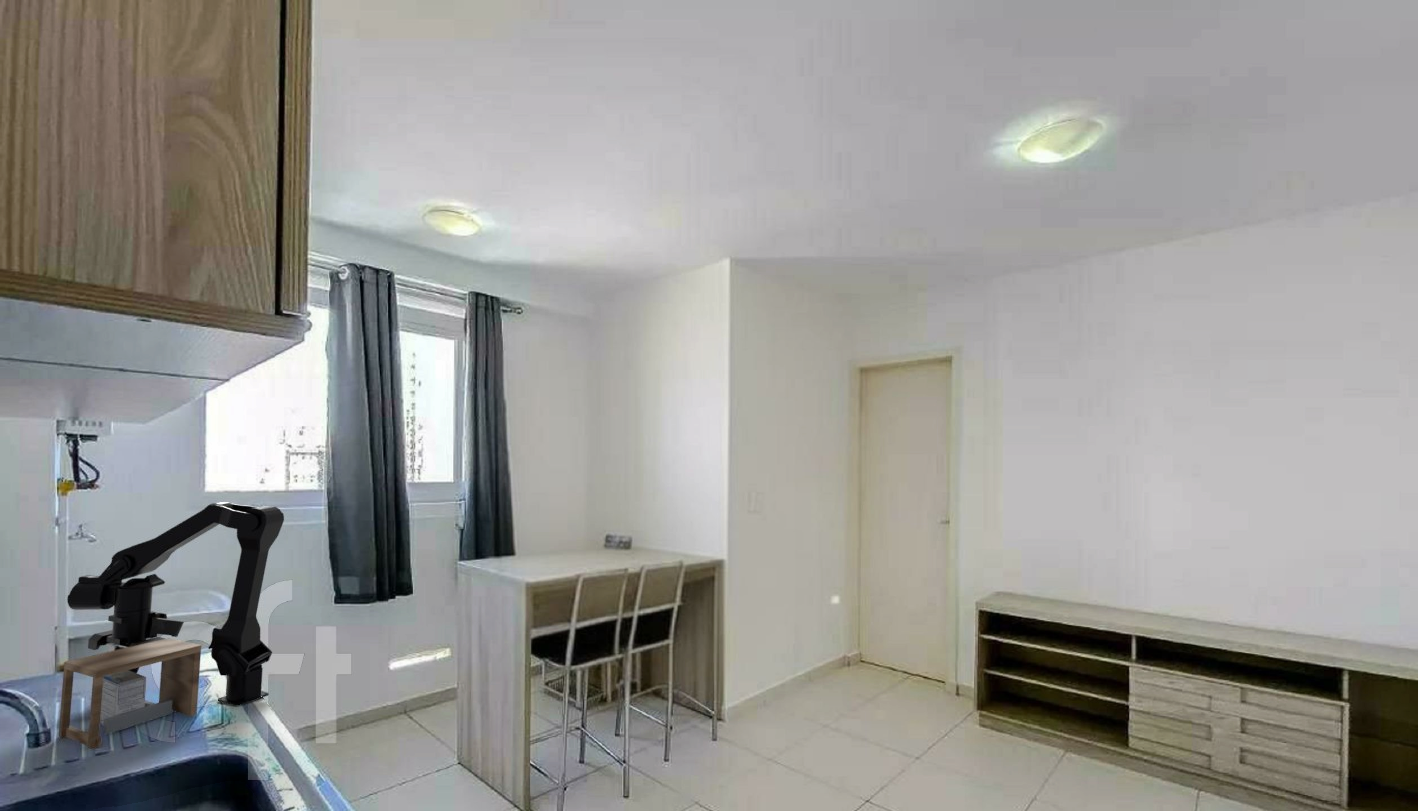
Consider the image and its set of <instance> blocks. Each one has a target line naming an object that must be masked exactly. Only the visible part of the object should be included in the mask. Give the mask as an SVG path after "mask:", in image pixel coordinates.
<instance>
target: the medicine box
mask: <svg viewBox="0 0 1418 811" xmlns="http://www.w3.org/2000/svg"><path fill="white" fill-rule="evenodd" d="M146 691H147V677H146V676H145V675H142V674H140V673H138V672H137V673H134V672H131V671H129V670H126V671H122V672H118V673H114V674H111V675H107V676H103V689H102V702H101V715H100V725H101V724H102V726H104V719H106V718H110V717H113V716H116V715H119V714H123V713H126V712H129V711H133V710H136V709H139V708H143V707H145V700H146Z"/></svg>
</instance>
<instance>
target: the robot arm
mask: <svg viewBox="0 0 1418 811" xmlns="http://www.w3.org/2000/svg"><path fill="white" fill-rule="evenodd" d="M284 520H285V516H284V513H283V512H282V510H281V509H280V508H278V507H277V506H274V505H265V506H254V505H253V506H252V505H245V504H236V503H232V502H228V501H222V502H214V503H210V504H208V505H207V506H205V507H204V508H203V509H202V510H200V511H199V512H197V513H195V514H193V515H191V516H190V517H188V518H187V519H185V520H183V521H181V522H179V523H177V524H175V525H174V526H173V527H171V528H169V529H168V530H166V531H165V532H163V533H161V534H159V535H158V536H155V537H154V538H151V539H149V540H146V541H144V542H141V543H140V542H139V543H137V544H134V545H132V546H128V547H127V548H124V549H121V550H119V551H117V552H116V553H114V554H113V555H112V557H111V562H110V564H109V565H108V566H107V567H106V568H105V569H104V570H103V572H102V573H101V574H99V575H95V574H87V575H81V576H79V577H78V581H77V583H76V584H75V585H74V586H73V587H72V588H71V590H70V592H69V594H68V595H67V605H68V607H69V608H70V609H71V610H74V611H81V610H82V611H83V610H84V611H86V610H87V611H88V610H91V611H93V610H98V611H99V610H110V609H111V608H113V614H111V615H108V617H107V618H108V619H107V620H108V622H111V623H112V630H111V629H110V630H107V631H101V632H96V633H93V634H92V635H91V637H90V638H88V642H87V643H88V644H87V649H89V650H92V651H96V650H99V648H100V647H102V646H106V647H107V648H108V649H107V652H110V651H114V650H119V649H123V648H128V647H132V646H136V645H141V644H145V643H150V642H154V641H158V640H163V639H166V637H165V638H164V637H159V636H158V635H161V636H162V635H164V636H165V635H166V636H171V637H175V638H177V637H178V636H179V634H180V633H181V632H180V631H181V629H182V627H183V625H184V621H182V620H177V619H172V618H168V617H167V616H168V614H167V613H162V612H157V611H152V600H153V588H155V587H158V586H163V585H165V583H166V581H165V580H164V579H162V578H161V577H159V576H158V575H157V574H156V573H151V572H154V571H156V570H157V569H158V568H159V567H161V566H162V565H163V564H164V563H165V562H167V561H168V559H170V557H171V555H172V554H173V553H175V552H176V551H177V550H178V549H179V550H180V548H182V547H184V546H185V545H187V544H188V543H190V542H193V541H194V540H195V539H197V538H199V537H200V536H202V535H204V534H206V533H207V532H209V531H210V530H212V529H215V527H217V526H219V525H220V526H223V527H225V528H229V529H234V530H236V538H237V541H238V544H239V546H240V555H239V562H238V566H237V571H236V576H235V581H234V584H233V591H232V596H231V602H230V606H229V611H228V615H227V619H226V621H225V622H224V623H223V624H221V625H219V626H216V627H214V628H213V630H212V631H211V632H212V633H211V641H210V645H208V647H207V648H208V650H210V649H211V650H210V656H211V659H212V660H214V661H215V662H216V666H217V669H218V672H219V675H220V676H226V684H225V685H226V687H225V695H224V696H222V697H219V698H217V702H220V703H222V702H223V704H226V705H231V706H233V707H238V706H241V705H244V704H247V703H249V702H253V701H256V700H260V699H261V698H265V697H268V696H269V692H267V691H264V690H262V685H263V670H264V668H263V664H266V663H267V662H269V661H270V659H271V656H272V654H273V651H272V650H271V649H270V648H269V647H268V646H267V645H266V644H265V643H264V642H263V641H262V640H261V626H260V623H259V620H258V618H257V613H258V607H259V603H260V598H261V593H262V592H261V591H262V587H263V582H264V575H265V573H266V572H265V570H266V566H267V561H268V557H269V550H270V549H271V547H272V545H273V544H274V542H275V541H276V540H277V538H278V536H279V535H280V531H281V529H282V527H283V523H284ZM148 573H151V574H149V575H146V577H138V576H140V575H145V574H148ZM127 579H128V580H127ZM123 580H127V581H126V582H123ZM140 668H141V667H138V668H134V669H130V670H129V671H131V672H134V673H137V674H138V672H139V669H140ZM261 696H262V697H261Z"/></svg>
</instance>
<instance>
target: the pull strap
mask: <svg viewBox="0 0 1418 811" xmlns="http://www.w3.org/2000/svg"><path fill="white" fill-rule="evenodd" d="M173 712H174V711H173V708H172V700H170V699H169V700H166V701H162V702H159V701H158V702H157V703H156V702H152V701H148V700H146V699H145V707H143V708H139V709H136V710H133V711H129V712H126V713H123V714H119V715H116V716H113V717H110V718H106V719H104V725H102V726H103V728H102V734H104V735H109V734H112V733H116V732H118V731H121V730H124V729H128V728H131V727H134V725H135V726H138V725H141V724H140V723H142V724H143V723H147V722H149V721H152V720H156V719H159V718H162V717H164V716H168V715H171V714H173ZM137 724H138V725H137Z"/></svg>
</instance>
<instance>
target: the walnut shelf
mask: <svg viewBox="0 0 1418 811" xmlns="http://www.w3.org/2000/svg"><path fill="white" fill-rule="evenodd" d="M201 654H202V644H197V643H192V642H188V641H183V640H179V639H174V638H170V637H167V638H165V639H163V640H158V641H154V642H150V643H145V644H141V645H136V646H132V647H128V648H123V649H119V650H114V651H110V652H108V651H107V652H101V653H98V654H94V655H93V654H92V655H89V656H84V657H80V658H76V659H72V660H67V661H64V662H63V663H64V664H63V673H62V674H63V676H62V687H61V700H60V711H59V724H58V725H59V727H58V736H59V737H60V738H59V737H58V738H59V739H64V738H67V739H69V740H73V741H75V742H78V743H80V744H83V745H86V746H87V749H88V750H90V751H91V750H94V749H98V748H99V747H102V736H100V728H101V726H100V725H101V724H100V715H101V702H102V689H103V676H107V675H111V674H114V673H118V672H122V671H126V670H130V669H134V668H138V667H140V668H141V667H145V666H150V665H154V664H157V663H161V667H160V680H159V681H160V682H159V696H158V699H159V700H158V703H159V702H162V701H166V700H169V699H170V700H172V708H173V712H175V711H176V713H179V714H182V715H184V716H185V715H186V716H188V717H192V716H197V714H198V701H199V700H198V698H199V697H198V696H199V685H200V684H199V683H200V670H201V669H200V668H201ZM74 673H78V674H80V675H84V676H87V677H90V678H92V687H91V701H90V711H89V712H90V713H89V727H88V731H86V730H82V729H80V728H76V727H74V726H71V725H70V723H71V712H72V709H71V708H72V698H73V685H74V684H73V683H74Z"/></svg>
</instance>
